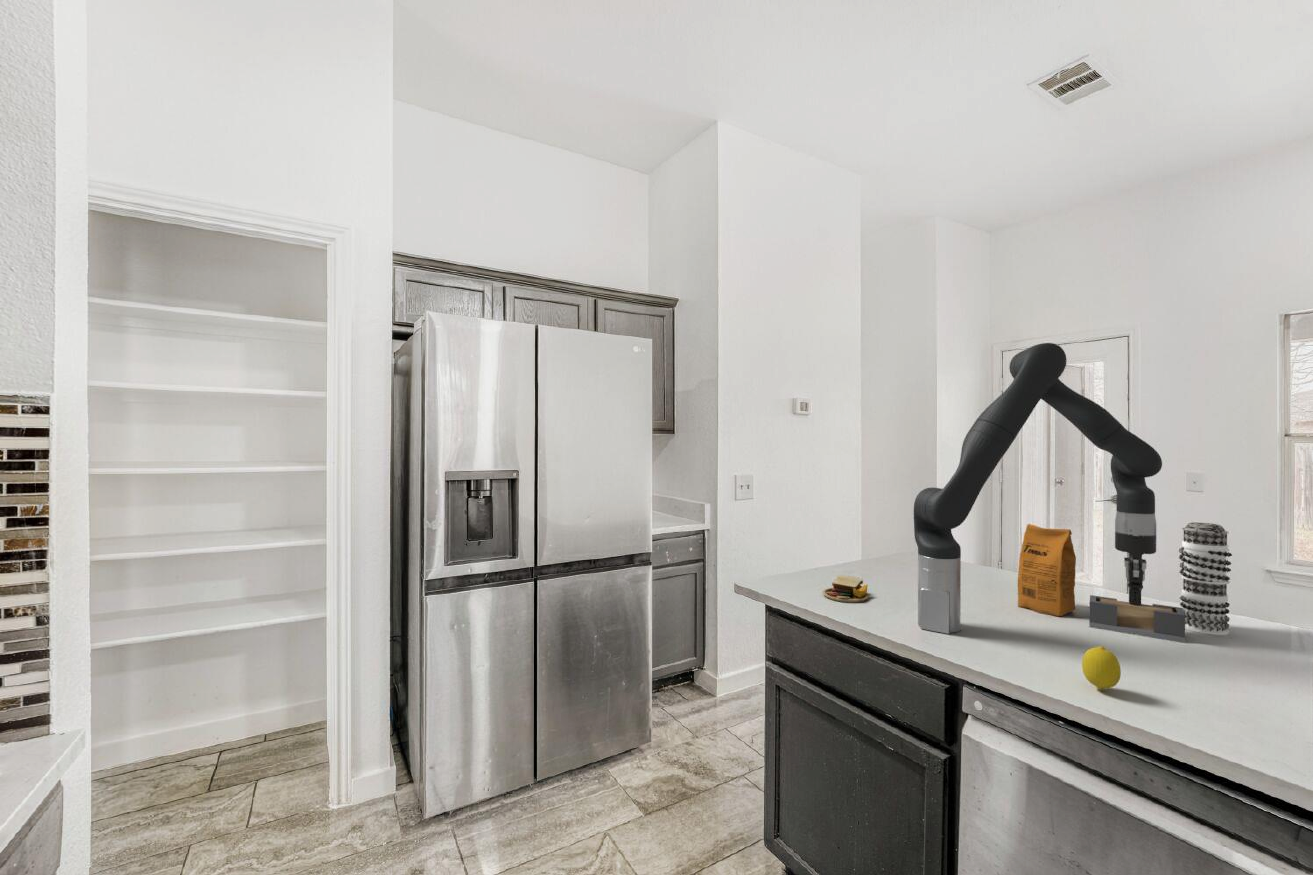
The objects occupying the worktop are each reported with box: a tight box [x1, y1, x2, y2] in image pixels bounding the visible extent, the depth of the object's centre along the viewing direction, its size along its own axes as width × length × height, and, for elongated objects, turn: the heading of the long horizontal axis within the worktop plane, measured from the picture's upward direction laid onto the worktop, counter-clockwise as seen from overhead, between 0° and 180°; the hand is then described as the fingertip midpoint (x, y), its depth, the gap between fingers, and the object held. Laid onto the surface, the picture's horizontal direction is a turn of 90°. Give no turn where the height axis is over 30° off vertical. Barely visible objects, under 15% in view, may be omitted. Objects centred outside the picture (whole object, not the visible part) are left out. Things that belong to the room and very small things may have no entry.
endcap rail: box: [1088, 594, 1186, 644], centre depth 136 cm, size 8×17×6 cm, turn 52°
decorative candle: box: [1178, 522, 1233, 636], centre depth 136 cm, size 9×9×25 cm
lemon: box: [1081, 645, 1122, 691], centre depth 104 cm, size 6×6×8 cm
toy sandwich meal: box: [822, 574, 870, 604], centre depth 164 cm, size 12×14×5 cm
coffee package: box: [1017, 523, 1077, 617], centre depth 152 cm, size 10×12×22 cm
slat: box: [1100, 598, 1173, 630], centre depth 136 cm, size 3×13×5 cm, turn 52°
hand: (1134, 604), depth 136 cm, fingers closed
